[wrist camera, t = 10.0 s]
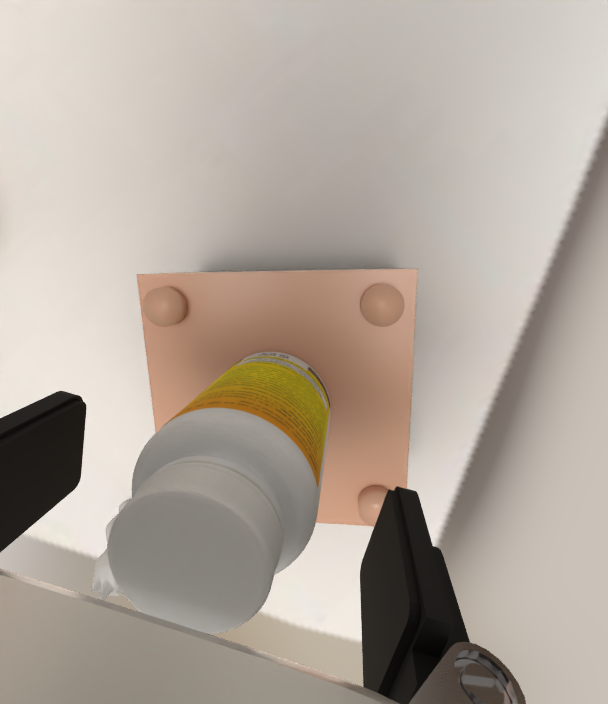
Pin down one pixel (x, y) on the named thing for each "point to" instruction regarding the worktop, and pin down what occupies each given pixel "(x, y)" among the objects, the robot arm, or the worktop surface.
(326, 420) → the supplement bottle
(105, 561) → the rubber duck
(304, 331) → the pink and grey block
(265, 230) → the worktop surface
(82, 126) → the worktop surface
